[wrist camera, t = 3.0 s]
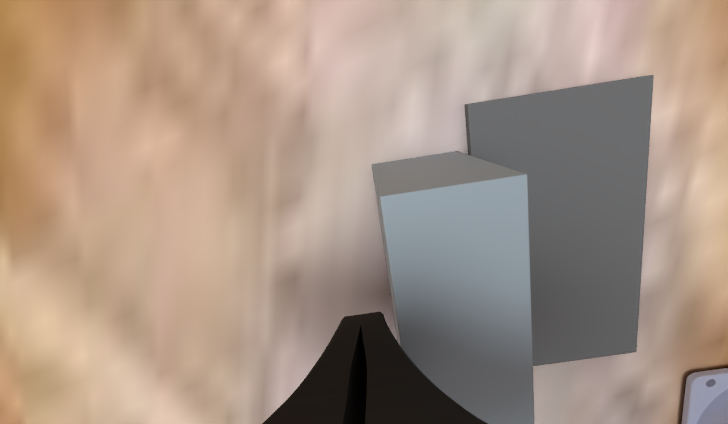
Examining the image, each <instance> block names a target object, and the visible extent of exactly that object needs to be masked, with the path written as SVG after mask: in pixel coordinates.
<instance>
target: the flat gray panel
mask: <svg viewBox="0 0 728 424" xmlns="http://www.w3.org/2000/svg"><path fill="white" fill-rule="evenodd" d="M652 91H653V75H650V76H643V77H637V78H631V79H624V80H618V81H612V82H605V83H599V84H593V85H586V86H580V87H574V88H568V89H561V90H555V91H549V92H542V93H536V94H530V95H523V96H517V97H511V98H505V99H498V100H492V101H486V102H479V103H473V104H467V105H465V113H466V127H467V140H468V154H469V155H470V156H473V157H476V158H479V159H482V160H485V161H488V162H491V163H494V164H497V165H500V166H503V167H506V168H509V169H512V170H515V171H519V172H522V173H525V174H527V188H528V222H529V256H530V290H531V325H532V359H533V366H537V365H545V364H552V363H559V362H567V361H574V360H581V359H588V358H596V357H603V356H610V355H618V354H625V353H632V352H636V347H637V331H638V315H639V299H640V283H641V267H642V251H643V235H644V219H645V203H646V187H647V171H648V155H649V139H650V123H651V107H652Z"/></svg>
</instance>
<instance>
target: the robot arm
mask: <svg viewBox="0 0 728 424" xmlns="http://www.w3.org/2000/svg"><path fill="white" fill-rule="evenodd" d="M263 424H488V423H486V422H484V421H482V420H481V419H479V418H477V417H476V416H474V415H473V414H471V413H470V412H468V411H467V410H465V409H464V408H463V407H462V406H460V405H459V404H458V403H456V402H455V401H454V400H453V399H451V398H450V397H449V396H447V395H446V394H445V393H444V392H442V391H441V390H440V389H439V388H438V387H437V386H436V385H435V384H434V383H432V382H431V381H430V380H429V379H428V378H427V377H426V376H425V375H424V374H423V373H422V372H421V371H420V370H419V368H418V367H417V366H416V365H415V364H414V363H413V362H412V360H411V359H410V358H409V357H408V356H407V354H406V353H405V352H404V350H403V349H402V348H401V346H400V345H399V343H398V342H397V340H396V339H395V338H394V336H393V334H392V333H391V331H390V329H389V327H388V325H387V323H386V321H385V318H384V314H382V313H381V312H375V313H368V314H361V315H354V316H347V317H344V318H343V319H342V320H341V322H340V324H339V326H338V328H337V330H336V332H335V334H334V336H333V337H332V339H331V341H330V343H329V344H328V346H327V347H326V349H325V351H324V352H323V354H322V355H321V357H320V358H319V360H318V361H317V363H316V364H315V366H314V367H313V368H312V370H311V371H310V373H309V374H308V375H307V377H306V378H305V379H304V381H303V382H302V383H301V384H300V386H299V387H298V388H297V389H296V390H295V391H294V393H293V394H292V395H291V396H290V397H289V398H288V399H287V400H286V401H285V402H284V403H283V404H282V405H281V406H280V407H279V408H278V409H277V410H276V411H275V412H274V413H273V414H272V415H271V416H270V417H269V418H268V419H267V420H266V421H265V422H264V423H263ZM682 424H728V368H724V369H716V370H709V371H701V372H695V373H692V374H690V375H689V376H688V377H687V380H686V388H685V397H684V406H683V415H682Z"/></svg>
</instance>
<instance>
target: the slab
mask: <svg viewBox="0 0 728 424" xmlns="http://www.w3.org/2000/svg"><path fill="white" fill-rule="evenodd" d="M372 170H373V177H374V183H375V190H376V197H377V204H378V211H379V217H380V224H381V231H382V238H383V244H384V251H385V258H386V265H387V272H388V278H389V285H390V292H391V299H392V306H393V312H394V319H395V326H396V333H397V340H398V343H399V345H400V346H401V348H402V349H403V350H404V352H405V353H406V354H407V356H408V357H409V358H410V359H411V360H412V362H413V363H414V364H415V365H416V366H417V367H418V368H419V370H420V371H421V372H422V373H423V374H424V375H425V376H426V377H427V378H428V379H429V380H430V381H431V382H432V383H434V384H435V385H436V386H437V387H438V388H439V389H440V390H441V391H442V392H444V393H445V394H446V395H447V396H449V397H450V398H451V399H453V400H454V401H455V402H456V403H458V404H459V405H460V406H462V407H463V408H464V409H465V410H467V411H468V412H470V413H471V414H473V415H474V416H476V417H477V418H479V419H481V420H482V421H484V422H486V423H488V424H534V393H533V359H532V325H531V290H530V256H529V222H528V188H527V174H525V173H522V172H519V171H515V170H512V169H509V168H506V167H503V166H500V165H497V164H494V163H491V162H488V161H485V160H482V159H479V158H476V157H473V156H470V155H467V154H464V153H461V152H458V151H455V152H449V153H442V154H436V155H429V156H423V157H416V158H410V159H404V160H397V161H391V162H384V163H378V164H372Z"/></svg>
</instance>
